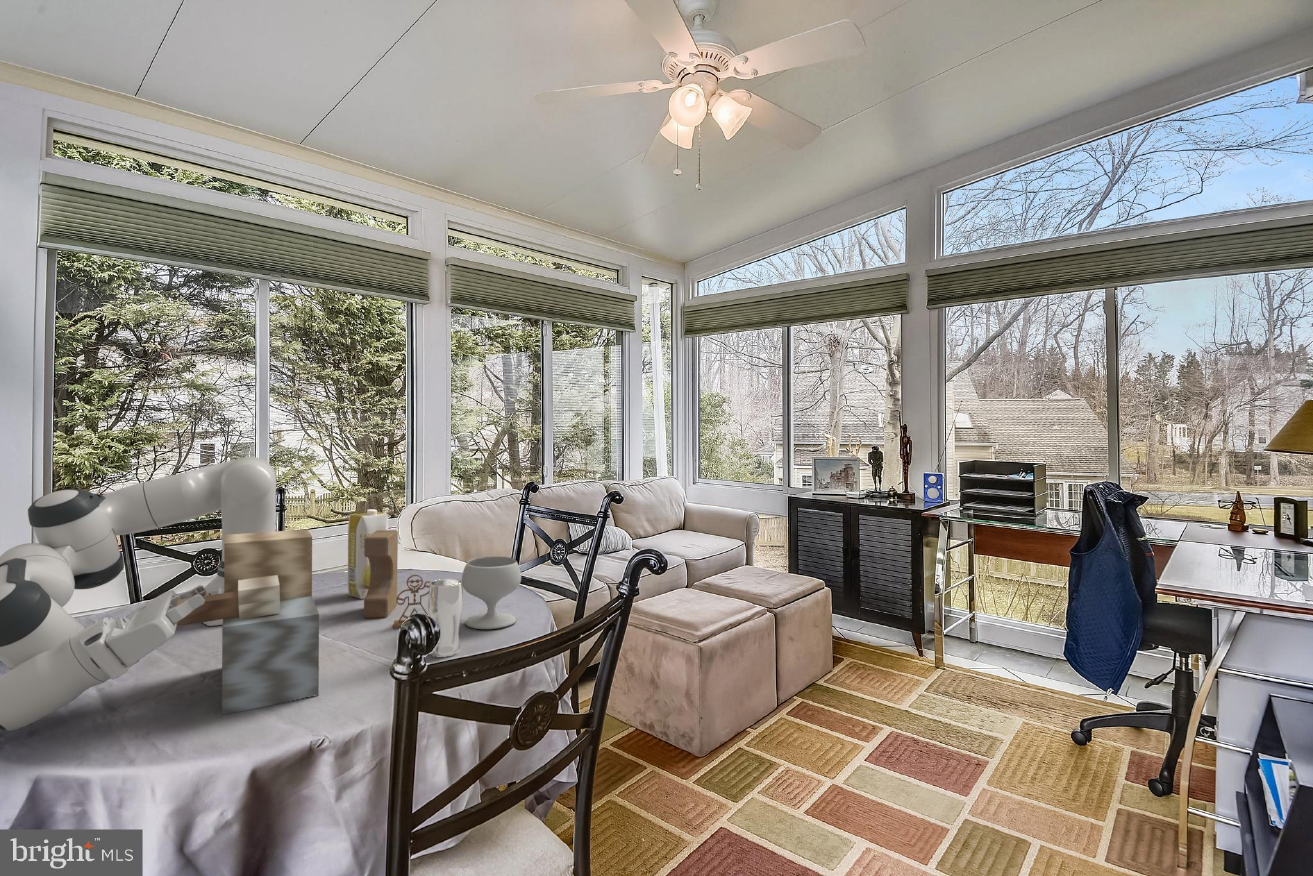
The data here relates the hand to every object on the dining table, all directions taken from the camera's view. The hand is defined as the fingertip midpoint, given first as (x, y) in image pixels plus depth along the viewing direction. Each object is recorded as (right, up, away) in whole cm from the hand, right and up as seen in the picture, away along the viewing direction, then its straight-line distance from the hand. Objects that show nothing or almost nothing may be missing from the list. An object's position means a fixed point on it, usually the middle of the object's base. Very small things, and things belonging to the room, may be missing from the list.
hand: (203, 593), depth 106 cm
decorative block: (+7, -18, +53) cm, 56 cm away
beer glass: (+32, -19, +26) cm, 46 cm away
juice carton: (-4, -18, +68) cm, 70 cm away
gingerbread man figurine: (+19, -19, +44) cm, 51 cm away
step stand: (+5, -19, +10) cm, 22 cm away
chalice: (+37, -19, +46) cm, 62 cm away
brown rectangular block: (+4, -4, +3) cm, 6 cm away
